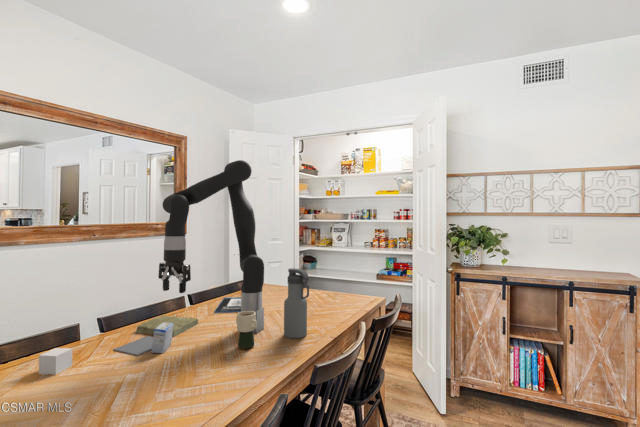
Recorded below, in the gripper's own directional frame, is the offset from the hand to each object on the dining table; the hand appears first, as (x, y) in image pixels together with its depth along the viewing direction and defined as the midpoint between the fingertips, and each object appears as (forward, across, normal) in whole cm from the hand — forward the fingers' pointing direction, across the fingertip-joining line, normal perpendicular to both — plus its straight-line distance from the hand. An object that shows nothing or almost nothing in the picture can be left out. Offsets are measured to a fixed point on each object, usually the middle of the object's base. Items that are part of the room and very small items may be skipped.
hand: (173, 291), depth 122 cm
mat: (+22, +15, +1) cm, 27 cm away
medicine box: (+22, +5, +1) cm, 23 cm away
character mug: (+22, -22, -16) cm, 35 cm away
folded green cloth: (+23, +24, -17) cm, 37 cm away
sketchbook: (+22, +20, -62) cm, 69 cm away
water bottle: (+22, -32, -35) cm, 53 cm away
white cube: (+23, +22, +27) cm, 42 cm away
